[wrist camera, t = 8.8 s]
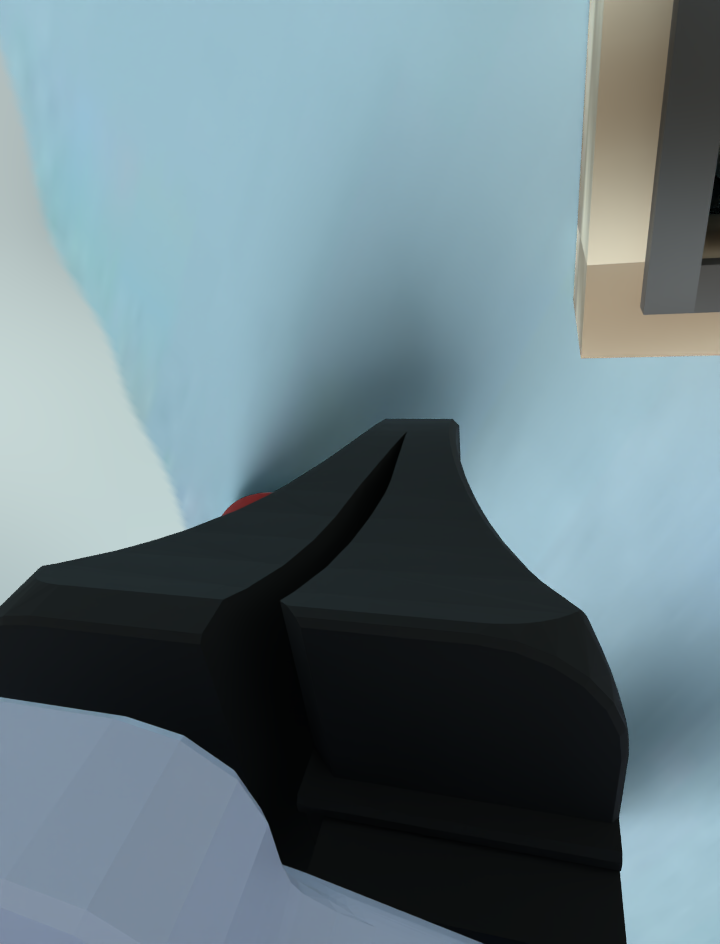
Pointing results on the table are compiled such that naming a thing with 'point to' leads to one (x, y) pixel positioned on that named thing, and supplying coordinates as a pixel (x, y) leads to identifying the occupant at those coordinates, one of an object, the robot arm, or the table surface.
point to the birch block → (649, 181)
